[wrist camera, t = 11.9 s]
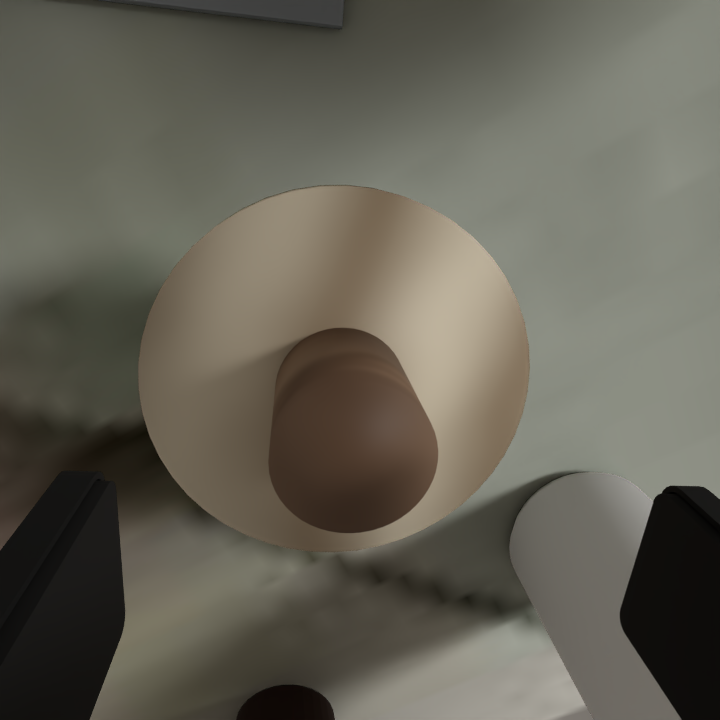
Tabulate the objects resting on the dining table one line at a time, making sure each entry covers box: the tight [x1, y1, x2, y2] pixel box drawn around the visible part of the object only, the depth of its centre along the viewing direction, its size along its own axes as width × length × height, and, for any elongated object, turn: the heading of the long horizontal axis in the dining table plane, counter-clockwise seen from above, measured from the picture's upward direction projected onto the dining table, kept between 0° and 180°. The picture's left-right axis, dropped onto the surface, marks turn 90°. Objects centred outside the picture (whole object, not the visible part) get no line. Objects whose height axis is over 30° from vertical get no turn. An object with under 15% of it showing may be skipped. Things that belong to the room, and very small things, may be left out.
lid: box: [138, 185, 530, 552], centre depth 16 cm, size 12×12×6 cm
